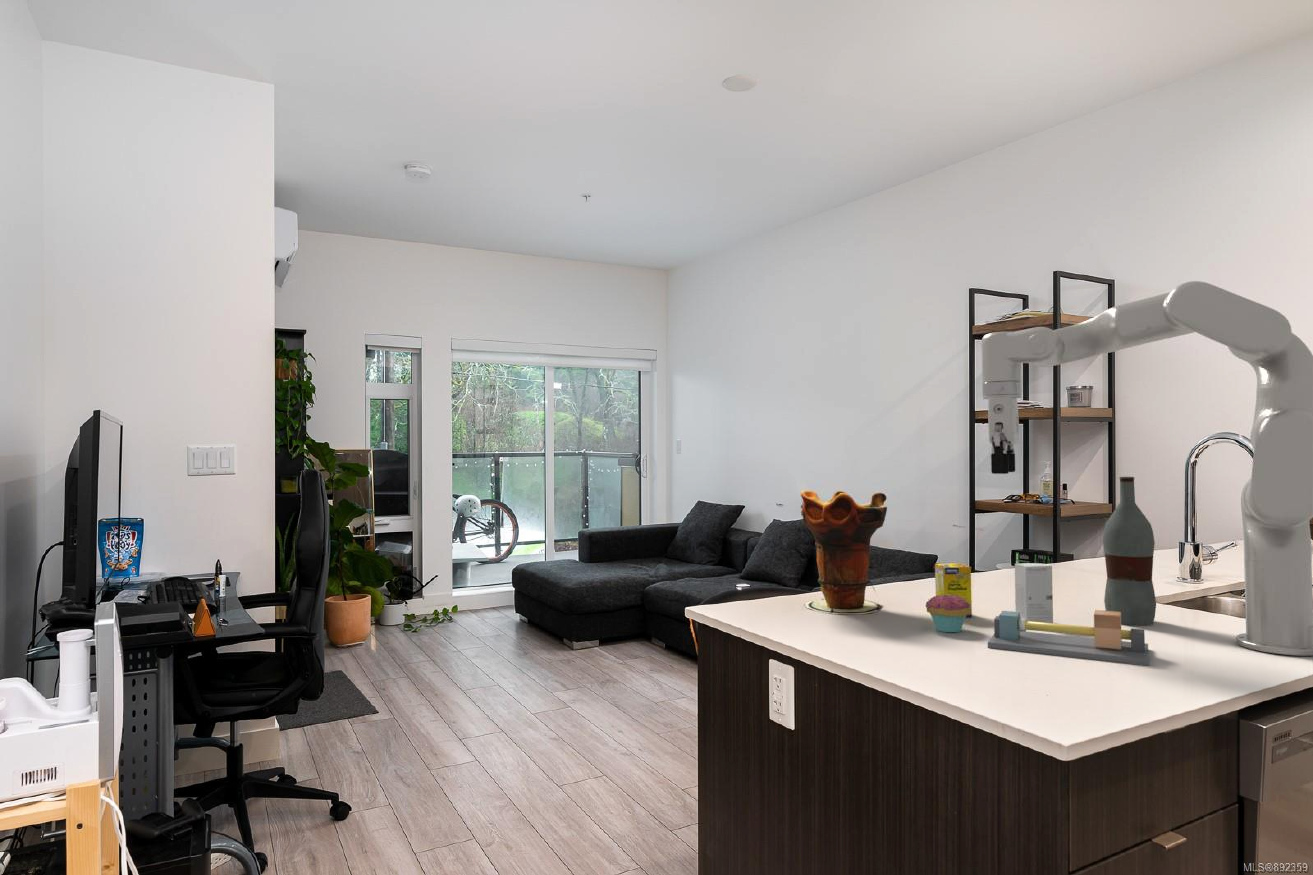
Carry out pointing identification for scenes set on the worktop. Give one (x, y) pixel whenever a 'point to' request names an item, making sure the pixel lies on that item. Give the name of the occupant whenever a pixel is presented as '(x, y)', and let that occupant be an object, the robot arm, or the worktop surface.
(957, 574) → the supplement box
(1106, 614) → the sleeve
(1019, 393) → the robot arm
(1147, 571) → the bottle
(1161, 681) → the worktop surface
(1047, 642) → the cable board
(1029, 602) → the skincare box
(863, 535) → the decorative vase
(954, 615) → the cupcake
